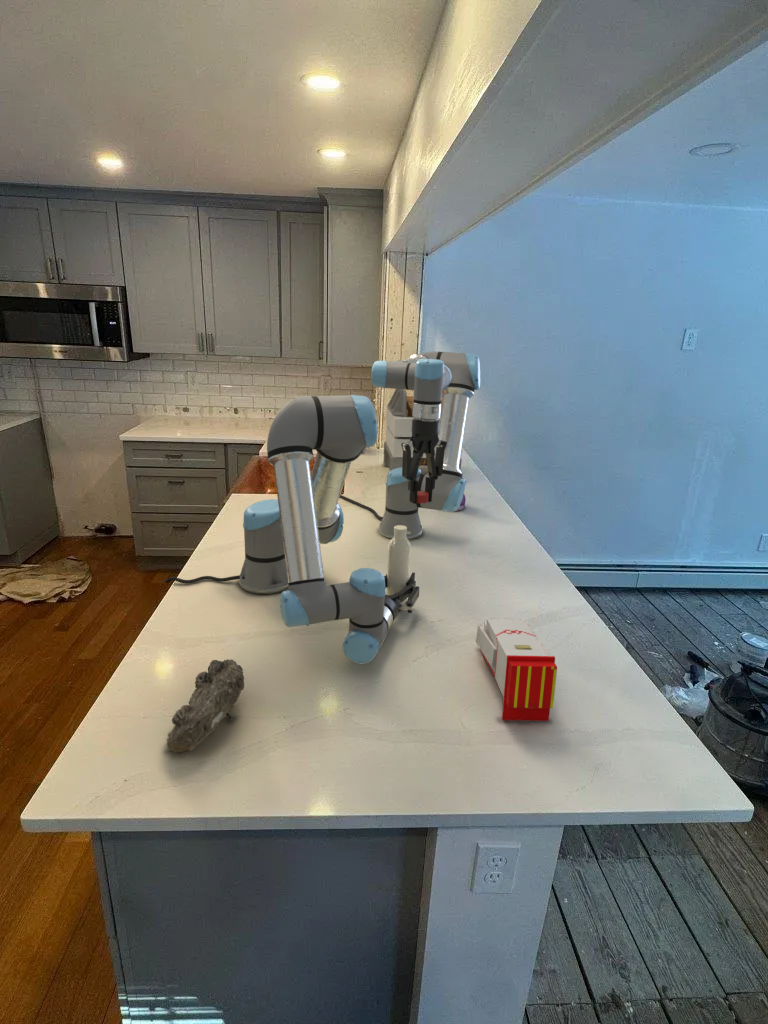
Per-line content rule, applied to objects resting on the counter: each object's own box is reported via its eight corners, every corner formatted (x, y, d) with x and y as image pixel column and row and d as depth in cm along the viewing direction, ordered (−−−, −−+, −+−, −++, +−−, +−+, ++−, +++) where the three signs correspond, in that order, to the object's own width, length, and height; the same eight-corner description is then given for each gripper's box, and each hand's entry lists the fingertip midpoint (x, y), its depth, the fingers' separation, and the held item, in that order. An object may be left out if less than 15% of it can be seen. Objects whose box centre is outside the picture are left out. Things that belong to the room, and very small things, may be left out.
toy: (523, 604, 135) (566, 662, 106) (518, 656, 138) (559, 727, 109) (472, 603, 135) (501, 661, 105) (468, 655, 138) (496, 726, 108)
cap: (411, 502, 158) (411, 494, 158) (414, 497, 162) (415, 490, 162) (426, 504, 157) (427, 496, 157) (429, 499, 161) (430, 492, 161)
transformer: (382, 463, 289) (386, 382, 275) (445, 464, 293) (451, 384, 279) (390, 482, 257) (394, 392, 243) (460, 483, 261) (468, 394, 247)
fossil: (192, 660, 117) (244, 628, 112) (224, 691, 120) (276, 661, 115) (142, 746, 98) (202, 712, 93) (182, 779, 101) (242, 748, 96)
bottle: (406, 600, 155) (411, 523, 147) (406, 610, 149) (411, 531, 142) (385, 599, 155) (389, 522, 147) (385, 609, 149) (389, 530, 142)
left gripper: (340, 623, 137) (369, 582, 158) (415, 637, 133) (434, 593, 154) (341, 595, 134) (370, 557, 156) (417, 609, 130) (436, 568, 151)
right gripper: (405, 422, 145) (400, 509, 153) (460, 419, 153) (453, 501, 161) (391, 417, 151) (387, 500, 159) (445, 415, 159) (439, 494, 167)
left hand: (402, 575), depth 155 cm, fingers closed on bottle, 6 cm apart
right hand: (420, 501), depth 160 cm, fingers closed on cap, 4 cm apart
